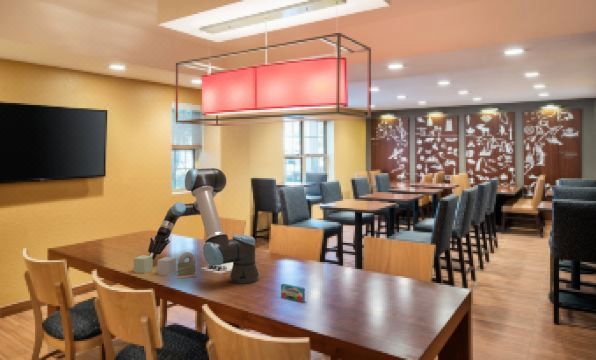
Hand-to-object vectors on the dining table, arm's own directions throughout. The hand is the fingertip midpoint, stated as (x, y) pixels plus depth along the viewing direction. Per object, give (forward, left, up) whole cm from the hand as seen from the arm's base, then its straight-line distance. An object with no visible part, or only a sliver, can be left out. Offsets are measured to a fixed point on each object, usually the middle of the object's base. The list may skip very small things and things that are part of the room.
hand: (148, 263), depth 235 cm
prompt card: (-29, -9, -3) cm, 31 cm away
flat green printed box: (-93, -28, -3) cm, 97 cm away
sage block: (-2, +4, -3) cm, 6 cm away
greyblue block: (-15, -4, -3) cm, 16 cm away
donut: (-16, -16, -3) cm, 23 cm away
